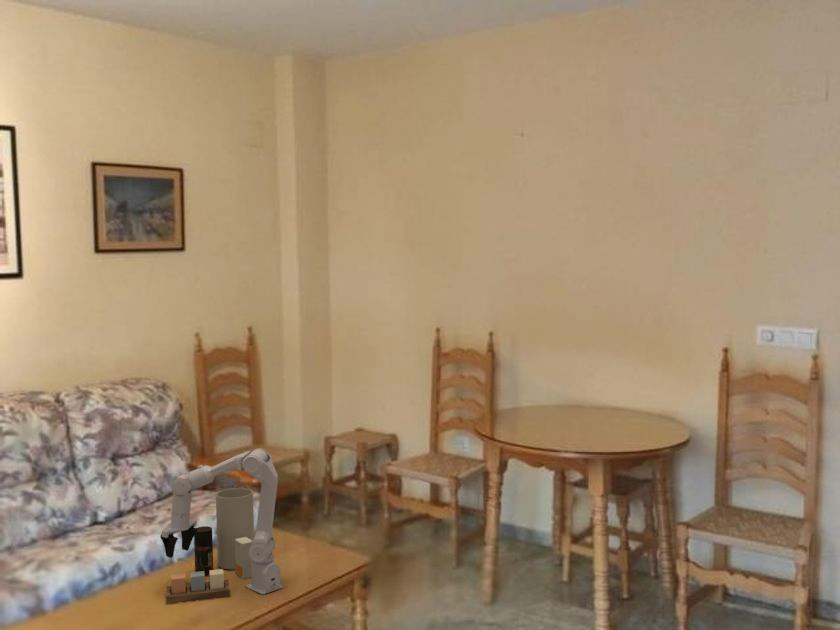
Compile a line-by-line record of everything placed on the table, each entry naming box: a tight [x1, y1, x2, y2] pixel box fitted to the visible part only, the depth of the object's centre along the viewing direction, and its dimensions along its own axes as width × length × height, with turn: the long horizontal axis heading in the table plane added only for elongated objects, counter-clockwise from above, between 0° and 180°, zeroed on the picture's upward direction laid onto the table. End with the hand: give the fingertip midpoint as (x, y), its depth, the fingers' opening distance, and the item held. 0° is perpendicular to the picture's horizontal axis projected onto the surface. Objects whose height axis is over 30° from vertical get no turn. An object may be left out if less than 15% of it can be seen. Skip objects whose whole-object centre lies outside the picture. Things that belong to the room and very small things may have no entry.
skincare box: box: [234, 537, 253, 580], centre depth 274 cm, size 6×4×12 cm
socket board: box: [165, 579, 231, 605], centre depth 259 cm, size 9×19×2 cm, turn 106°
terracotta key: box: [170, 573, 187, 594], centre depth 257 cm, size 4×4×5 cm
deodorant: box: [193, 525, 214, 577], centre depth 277 cm, size 6×6×15 cm
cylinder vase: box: [215, 487, 255, 571], centre depth 285 cm, size 12×12×25 cm
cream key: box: [208, 568, 225, 590], centre depth 260 cm, size 4×4×5 cm
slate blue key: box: [190, 571, 206, 592], centre depth 258 cm, size 4×4×5 cm
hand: (177, 553), depth 266 cm, fingers open, 7 cm apart
